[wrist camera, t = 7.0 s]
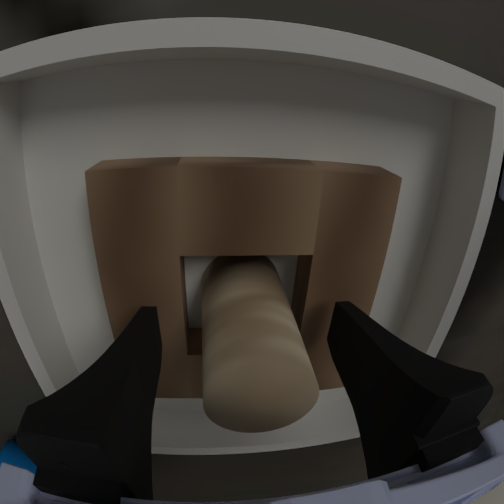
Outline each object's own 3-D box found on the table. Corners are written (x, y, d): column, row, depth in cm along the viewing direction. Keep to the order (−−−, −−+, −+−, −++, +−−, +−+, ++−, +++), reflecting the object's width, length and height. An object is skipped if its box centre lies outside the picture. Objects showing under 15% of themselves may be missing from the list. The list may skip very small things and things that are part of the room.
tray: (457, 85, 13) (510, 92, 9) (375, 389, 23) (393, 428, 19) (15, 66, 10) (-36, 65, 6) (87, 401, 20) (76, 444, 16)
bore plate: (379, 166, 14) (401, 177, 12) (334, 363, 19) (344, 386, 17) (101, 160, 12) (84, 171, 10) (136, 370, 17) (131, 396, 16)
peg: (282, 249, 15) (331, 359, 9) (273, 313, 16) (306, 427, 10) (202, 248, 14) (201, 365, 8) (202, 313, 16) (204, 434, 10)
